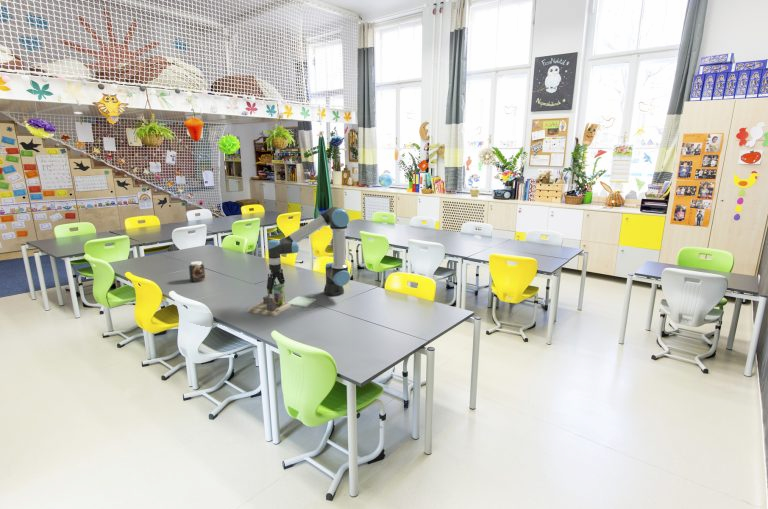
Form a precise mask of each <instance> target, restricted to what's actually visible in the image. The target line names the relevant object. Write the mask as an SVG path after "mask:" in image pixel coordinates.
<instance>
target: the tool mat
mask: <svg viewBox="0 0 768 509" xmlns="http://www.w3.org/2000/svg"><path fill="white" fill-rule="evenodd" d="M316 301H317V299H316V298H311V297H305V296H295V297H294V298H293V299H291V300H289V301H287V302H286V303H291V306H293V307H299V308H300V307H302V308H307V307H308V306H310V305H311V304H313V303H315V302H316Z"/></svg>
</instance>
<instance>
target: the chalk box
mask: <svg viewBox="0 0 768 509" xmlns="http://www.w3.org/2000/svg"><path fill="white" fill-rule="evenodd" d="M266 289H267V288H266ZM273 289H274V299H272V298H270V294H269V289H267V296H268V303H270V302H273V303H276V305H282V303H283V302H284V303H285V301H286V297H285V296H286V295H285V294H286V293H285V284H283V285H280V283H278V284H277V282H276V280H275V281H274V285H273Z"/></svg>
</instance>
